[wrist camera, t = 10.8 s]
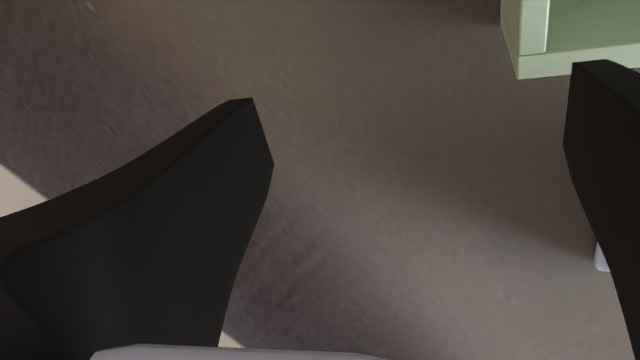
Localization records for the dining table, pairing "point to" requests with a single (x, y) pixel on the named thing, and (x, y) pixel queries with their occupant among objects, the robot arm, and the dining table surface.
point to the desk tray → (569, 34)
